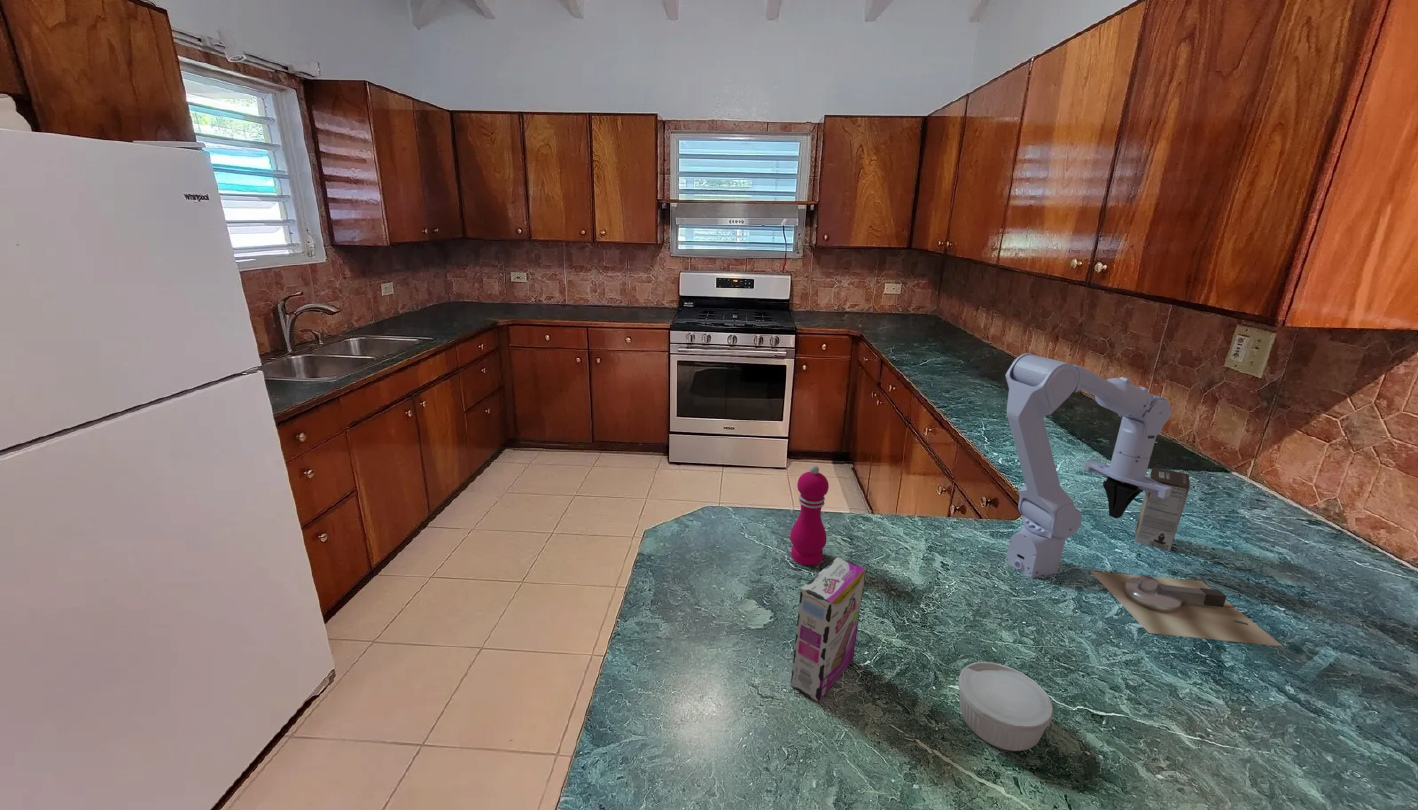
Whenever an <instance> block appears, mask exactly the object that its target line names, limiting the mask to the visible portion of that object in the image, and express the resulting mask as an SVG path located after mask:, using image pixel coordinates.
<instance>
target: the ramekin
mask: <svg viewBox="0 0 1418 810" xmlns="http://www.w3.org/2000/svg"><path fill="white" fill-rule="evenodd" d="M960 671H961V672H960V673H959V677H958V688H959V711H960V713H961V717H962V719H963V721H964V722H965V723H966V725H967V726H968V728H969V729H970V730H971V731H972V732H973V733H974V734H975V735H976V736H978V737H979V738H980V739H982V740H983V741H984V742H986V743H987V744H988V745H989V744H990V745H991V746H994V747H996V748H999V749H1001V750H1005V751H1011V752H1020V751H1027V750H1029V749H1031V748H1034V747H1035V746H1036V745H1037V744H1038V743H1039V741H1040V740H1041V738H1042V737H1043V734H1044V732H1045V731H1046V728H1047V727H1048V726H1049V725H1050V724H1051V722H1052V720H1053V714H1054V707H1053V702H1052V700H1051V698H1050V696H1049V695H1048V693H1047V692H1046V691H1045V690H1044V689H1043V688H1042V687H1041V686H1040V684H1038V683H1037V682H1036V681H1035V680H1033V678H1031V677H1030V676H1028V675H1026V674H1024V673H1023V672H1021V671H1019V670H1017V669H1015V668H1013V667H1010V666H1007V665H1004V664H1000V663H997V662H991V661H990V662H989V661H976V662H972V663H970V664H967V665H966V666H964V667H963V669H962V670H960Z"/></svg>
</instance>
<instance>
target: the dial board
mask: <svg viewBox="0 0 1418 810" xmlns="http://www.w3.org/2000/svg"><path fill="white" fill-rule="evenodd" d="M1090 572H1091V574H1092V575H1093V576H1094V577H1095V578H1096V579H1097V580H1098V581H1099V583H1101V584H1102V586H1104V587H1105V589H1106V590H1107V591H1109V593H1110V594H1111V595H1112V596H1113V597H1114V598H1115V599H1116V600H1117V601H1118V602H1119V603H1120V605H1121V606H1122V607H1123V608H1124V609H1125V610H1127V612H1128V613H1130V615H1131V616H1132V617H1133V618H1134V619H1135V620H1136V621H1137V622H1138V624H1140V625H1141V626H1142V627H1143V629H1145V631H1146V632H1147V633H1148V634H1153V635H1164V636H1175V637H1185V638H1194V639H1203V640H1213V641H1214V640H1216V641H1225V642H1233V643H1234V642H1236V643H1246V644H1255V645H1265V646H1276V647H1283V645H1282V644H1281V643H1280V642H1279V641H1277V640H1276V639H1275V638H1274V637H1272V636H1271V635H1270V634H1269V633H1268V632H1266V631H1265V630H1264V629H1262V628H1261V627H1260V626H1258V625H1257V623H1255V622H1253V621H1252V620H1251V619H1250V618H1248V617H1247V615H1245V614H1243V612H1241V611H1240V610H1238V608H1236V606H1234V605H1232V604H1231V603H1230V602H1228V601H1227V599H1226V600H1225V603H1224V606H1223V607H1217V606H1208V605H1203V604H1197V603H1189V602H1182V603H1181V606H1180V609H1179V610H1178V611H1176V612H1161V611H1157V610H1153V609H1150V608H1147V607H1145V606H1142V605H1140V604H1138V603H1136V602H1135V601H1133V600H1132V599H1130V598H1129V597H1128V596H1127V595H1126V593H1125V591H1124V588H1125V585H1126V581H1127V580H1128V579H1130V578H1140V576H1141V575H1139V574H1138V575H1137V574H1127V573H1115V572H1114V573H1113V572H1106V571H1105V572H1103V571H1093V570H1091V571H1090ZM1149 576H1150V577H1153V578H1155V579H1156V580H1157V581H1158V582H1159V583H1162V584H1164V585H1171V586H1180V587H1189V588H1198V589H1200V588H1205V589H1212V588H1211V587H1210V586H1209V585H1207V584H1206V583H1204V582H1203V580H1194V579H1183V578H1182V579H1181V578H1173V577H1172V578H1171V577H1170V578H1169V577H1163V576H1162V577H1160V576H1159V577H1158V576H1151V575H1149Z"/></svg>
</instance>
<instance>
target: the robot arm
mask: <svg viewBox="0 0 1418 810" xmlns="http://www.w3.org/2000/svg"><path fill="white" fill-rule="evenodd" d="M1004 376H1005V380H1006V383H1007V387H1008V395H1007V404H1006V416H1007V420H1008V424H1009V427H1010V431H1011V436H1012V440H1013V443H1014V446H1015V450H1016V454H1017V457H1018V461H1019V465H1020V468H1021V472H1022V476H1023V480H1024V484H1025V485H1023V486H1022V487H1021V488H1019V490H1018V491H1017V492H1018V495H1019V501H1018V504H1017V505H1018V506H1017V507H1018V508H1017V509H1018V511H1019V513H1020V514H1021V516H1022V519H1021V521H1022V522H1023V523H1024V524H1023V526H1022V527H1021V529H1020V530H1019V531H1018V532H1016V533H1013V535H1011V536H1010V538H1009V542H1008V546H1007V551H1006V557H1005V561H1004V562H1005V564H1008V565H1010V566H1011V567H1013V568H1014V569H1016V570H1018V571H1019V572H1021V573H1023V574H1024V575H1026V576H1027V577H1030V578H1037V577H1040V576H1046V575H1047V576H1048V575H1055V574H1057V573H1058V571H1059V568H1060V564H1061V560H1062V556H1063V552H1064V548H1065V544H1066V539H1067V538H1070V537H1072V536H1073V535H1074V534H1076V533H1077V532H1078V531H1079V530H1080V528H1081V525H1082V521H1083V516H1082V513H1081V511H1080V510H1078V508H1077V507H1076V506H1075V503H1074V499H1072V498H1071V497H1070V496H1069V494H1067V492H1066V491H1065V490H1064V489H1063V488H1062V487H1061V483H1060V480H1059V475H1058V471H1057V467H1056V463H1055V459H1054V455H1053V451H1052V447H1051V443H1050V438H1049V435H1048V430H1047V426H1046V422H1045V421H1046V420H1045V419H1044V418H1045V417H1047V416H1049V415H1052V414H1053V413H1054V412H1055V411H1056V410H1057V409H1058V408H1059V407H1060V406H1061V405H1062V404H1063V403H1064V402H1065V401H1066V400H1067V399H1068V398H1069V397H1070V396H1071V395H1072V394H1073V393H1078V392H1079V390H1080V391H1084V392H1086V393H1088V394H1091V395H1093V396H1094V398H1095V402H1096V403H1097V404H1098V405H1099V406H1100V407H1102V408H1105V409H1107V410H1109V411H1112V412H1113V413H1117V415H1118V416H1119V417H1120V418H1121V421H1120V426H1119V430H1118V433H1117V438H1116V441H1115V445H1114V449H1113V452H1112V457H1111V460H1110V465H1109V464H1106V463H1101V462H1098V461H1094V460H1092V459H1091V460H1086V461H1085V463H1084V466H1083V471H1085V472H1088V473H1089V472H1091V473H1094V474H1096V475H1100V476H1102V477H1105V478H1107V479H1105V480H1104V481H1103V482H1102V487H1103V489H1104V491H1105V493H1106V497H1107V502H1108V504H1107V505H1108V516H1109V517H1111V518H1114V519H1120V518H1122V516H1123V515H1124V513H1125V511H1126V510H1127V508H1128V507H1129V506H1130V504H1131V503H1132V502H1133V501H1134V500H1135V498H1136V497H1138V496H1139V495H1140V494H1141V493H1142V492H1143V491H1145V492H1146V491H1147V492H1150V493H1153V494H1155V495H1158V497H1160V498H1163V499H1164V498H1168V497H1169V496H1170V493H1171V489H1172V488H1171V487H1169V486H1166V485H1163V484H1161V483H1159V482H1157V481H1155V480H1153V479H1151V478H1149V477H1148V476H1147V471H1148V467H1149V463H1150V460H1151V457H1152V453H1153V449H1154V446H1155V442H1156V438H1157V436H1159V435H1160V434H1161V433H1162V431H1163V427H1164V426H1165V424H1166V423H1167V422H1168V421H1169V420H1170V418H1171V416H1172V414H1173V411H1171V410H1172V406H1171V404H1170V403H1169V402H1168V400H1167V398H1166V397H1164V396H1159V395H1156V394H1153V393H1152V394H1151V393H1150V392H1149V389H1148V388H1147V387H1143V386H1136V385H1134V384H1132V382H1133V380H1132V379H1130V378H1127V377H1123V376H1120V377H1119V378H1118V377H1112V378H1108V379H1105V378H1104V377H1102V376H1099V375H1098V374H1095V372H1092V371H1090V370H1089V369H1087V368H1085V367H1083V366H1081V365H1076V364H1072V363H1069V362H1065V361H1060V360H1056V359H1054V358H1053V359H1052V358H1048V357H1044V356H1039V355H1037V354H1034V353H1031V352H1029V353H1028V352H1026V353H1022V354H1021V355H1019V356H1017V357H1016V358H1015V359H1014V360H1013V362H1012V364H1010V367H1009V368H1008V369H1007V372H1006V373H1005V375H1004Z"/></svg>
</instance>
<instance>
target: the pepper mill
mask: <svg viewBox="0 0 1418 810" xmlns="http://www.w3.org/2000/svg"><path fill="white" fill-rule="evenodd" d="M796 486H797V491H798V492H799V495H798V503H799V504H800V512H799V514H798V515H799V516H798V517H797V520H796V521H795V523H794V524H793V526H792V528H791V529H790V530H791V531H790V536H789V540H790V542H791V544H792V546H791V550H790V551H791V552H790V556H791V559H792V560H793V561H794V562H796V563H797V564H800V565H805V566H815V565H818V564H820V563H821V562H822V560H823V554H824V552H823V548H825V546H826V544H827V532H826V529H825V526H824V523H823V521H822V516H821V513H822V507H824V506H825V500H826V497H825V496H826V495H827V494H828V492H829V480H828V478H827V477H826V476H825V475H824V474H822V473H821V472H820V469H819V467H818V466H817V465H815V464H814V465H811V466H810V468H809V471H806V472H804V473H802V474H801V475H800V476H799V478H798V480H797V484H796Z"/></svg>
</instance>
